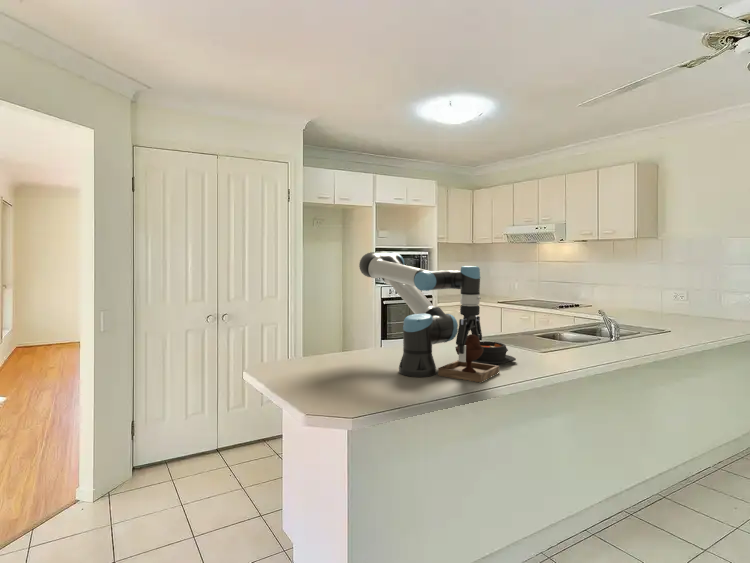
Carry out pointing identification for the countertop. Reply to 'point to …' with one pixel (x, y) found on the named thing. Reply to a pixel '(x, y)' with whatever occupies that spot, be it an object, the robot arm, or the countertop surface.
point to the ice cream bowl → (471, 351)
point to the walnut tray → (456, 372)
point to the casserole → (493, 353)
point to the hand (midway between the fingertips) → (469, 358)
